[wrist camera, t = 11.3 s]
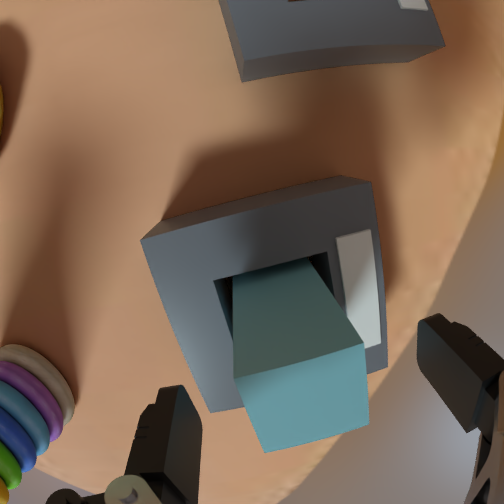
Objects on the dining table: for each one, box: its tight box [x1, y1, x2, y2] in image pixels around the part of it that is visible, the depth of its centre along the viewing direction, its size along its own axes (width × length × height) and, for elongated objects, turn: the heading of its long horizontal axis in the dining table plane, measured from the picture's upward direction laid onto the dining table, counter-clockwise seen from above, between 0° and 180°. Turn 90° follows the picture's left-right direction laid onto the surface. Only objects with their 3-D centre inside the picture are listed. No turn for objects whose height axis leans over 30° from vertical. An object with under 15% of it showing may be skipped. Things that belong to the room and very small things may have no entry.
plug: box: [233, 257, 369, 453], centre depth 13 cm, size 4×4×10 cm
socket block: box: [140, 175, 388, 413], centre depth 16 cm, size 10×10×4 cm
